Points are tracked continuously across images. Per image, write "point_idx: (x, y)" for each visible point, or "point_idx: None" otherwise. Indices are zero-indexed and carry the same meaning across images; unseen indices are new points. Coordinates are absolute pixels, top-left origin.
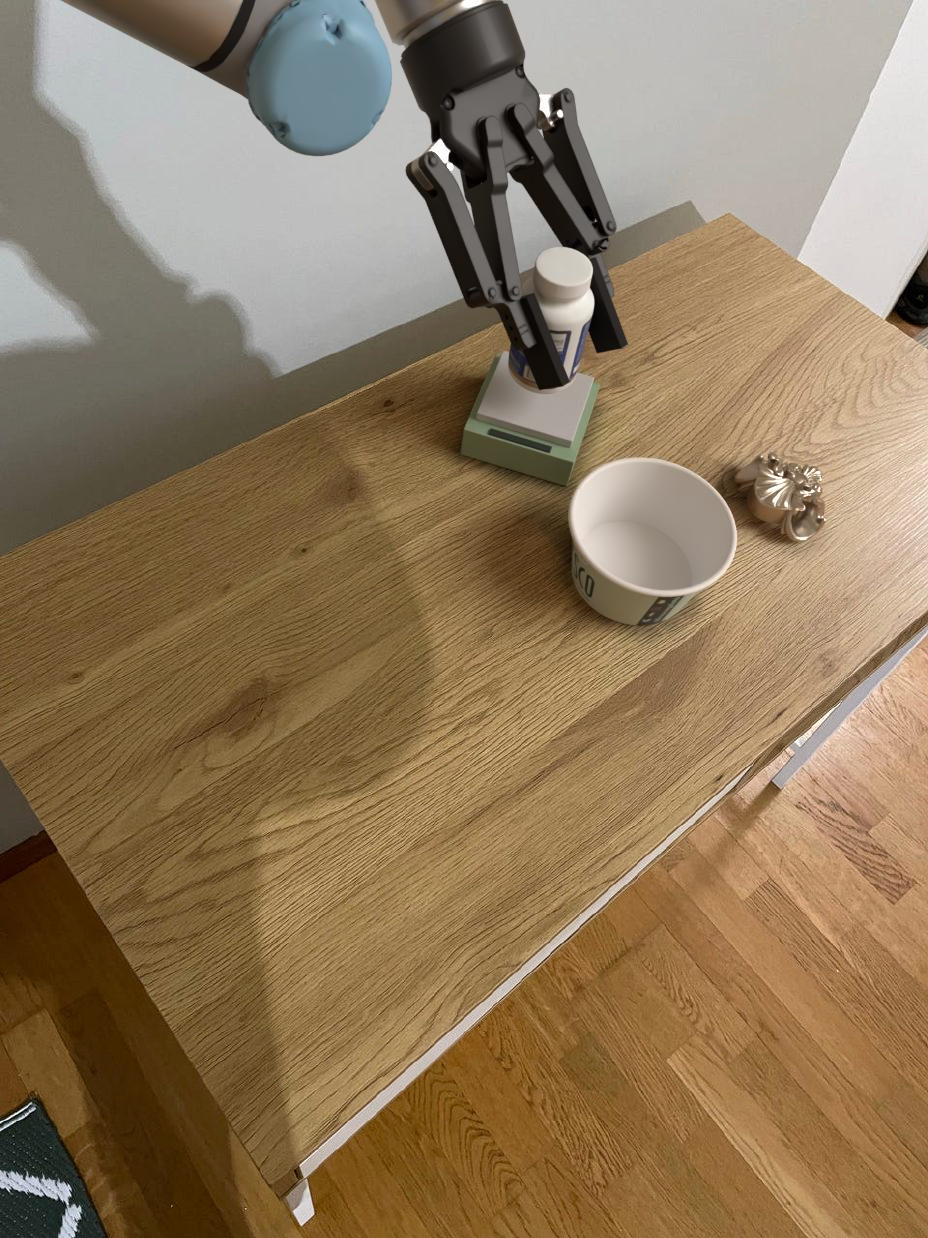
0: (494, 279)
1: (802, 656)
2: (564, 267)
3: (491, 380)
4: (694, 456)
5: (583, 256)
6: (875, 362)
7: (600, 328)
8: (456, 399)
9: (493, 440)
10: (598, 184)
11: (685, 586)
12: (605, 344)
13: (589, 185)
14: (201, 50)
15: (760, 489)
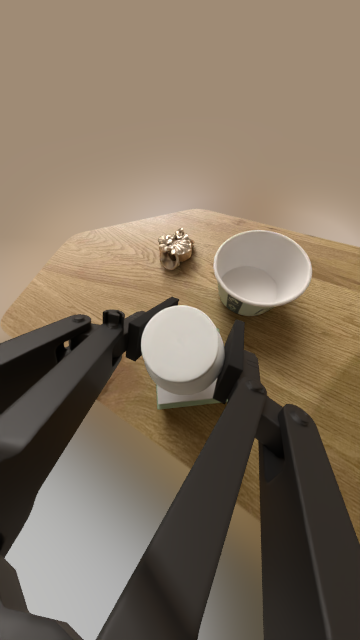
0: (289, 425)
1: (241, 229)
2: (182, 338)
3: (189, 400)
4: (165, 289)
5: (150, 325)
6: (80, 245)
7: None
8: (189, 421)
9: None
10: (14, 341)
11: (241, 268)
12: None
13: (21, 351)
14: None
15: (184, 250)
